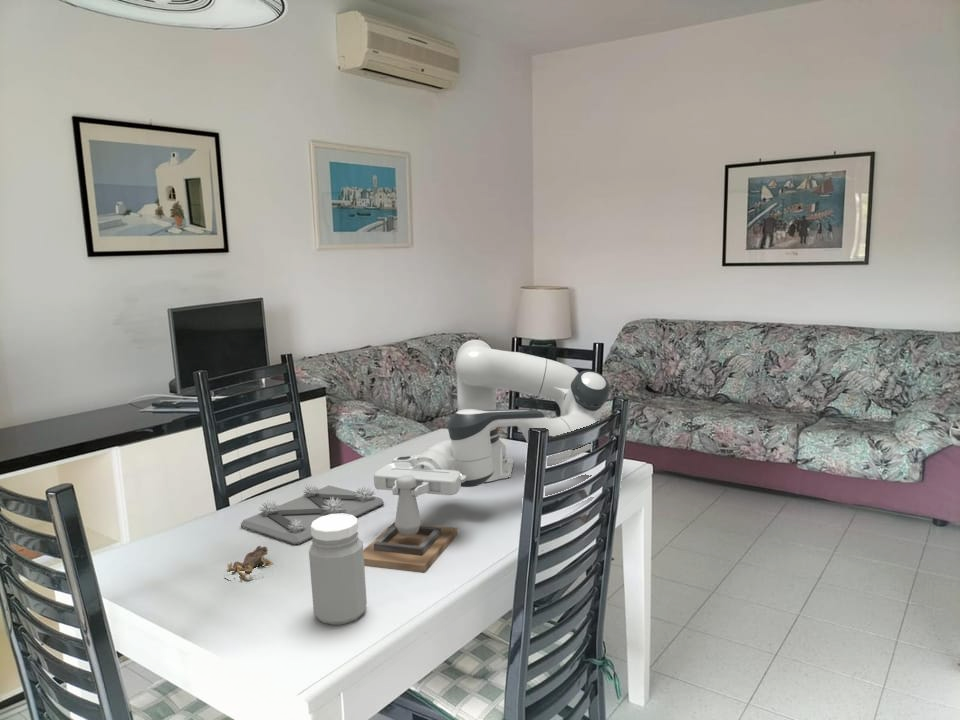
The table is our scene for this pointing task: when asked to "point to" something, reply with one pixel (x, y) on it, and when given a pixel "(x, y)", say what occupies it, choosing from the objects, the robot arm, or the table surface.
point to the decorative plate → (309, 512)
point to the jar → (337, 569)
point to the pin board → (408, 548)
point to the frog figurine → (250, 564)
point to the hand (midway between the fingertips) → (404, 492)
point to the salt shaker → (407, 507)
